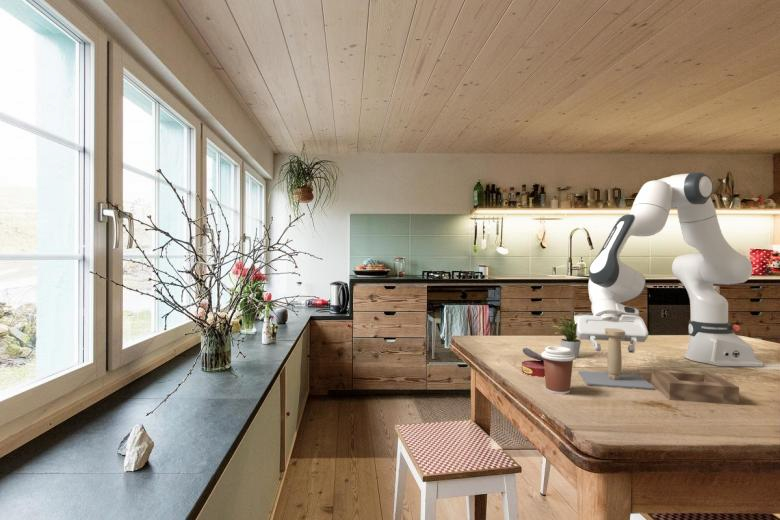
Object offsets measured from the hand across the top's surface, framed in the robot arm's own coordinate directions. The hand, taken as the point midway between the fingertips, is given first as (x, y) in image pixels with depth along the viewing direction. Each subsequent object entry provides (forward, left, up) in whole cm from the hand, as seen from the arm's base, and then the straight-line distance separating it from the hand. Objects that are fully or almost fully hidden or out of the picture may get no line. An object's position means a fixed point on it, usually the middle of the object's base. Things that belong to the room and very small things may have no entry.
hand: (614, 350), depth 133 cm
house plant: (+8, -32, -10) cm, 34 cm away
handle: (0, -1, -9) cm, 9 cm away
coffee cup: (+18, +13, -10) cm, 24 cm away
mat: (0, -1, -9) cm, 9 cm away
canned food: (+22, -5, -10) cm, 24 cm away
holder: (-18, +7, -9) cm, 22 cm away
